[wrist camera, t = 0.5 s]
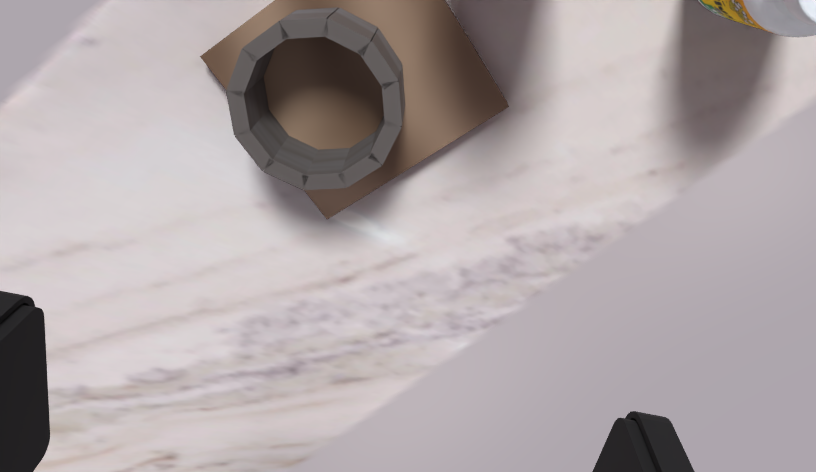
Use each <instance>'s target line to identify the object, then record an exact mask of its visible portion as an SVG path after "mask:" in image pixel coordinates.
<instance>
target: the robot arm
mask: <svg viewBox="0 0 816 472" xmlns="http://www.w3.org/2000/svg"><path fill="white" fill-rule="evenodd" d="M49 440H50V425H49V405H48V385H47V364H46V344H45V324H44V313H43V311H42V309H40V308H37V307H35V304H34V301H33V300H32V298H30V297H28V296H24V295H19V294H13V293H8V292H3V291H0V472H33V471H34V469H35V468H36V467H37V465H38V464H39V463H40V461H41V460H42V458H43V457H44V455H45V452H46V450H47V447H48V444H49ZM593 472H694V470H693V468H692V466H691V464H690V461H689V459H688V457H687V455H686V453H685V451H684V449H683V446H682V444H681V442H680V440H679V438H678V436H677V434H676V432H675V429H674V427H673V425H672V423H671V422H670V421H669V419H667V418H666V417H662V416H656V415H651V414H646V413H641V412H635V411H633V412H630V413H629V414H628V415H627V416H626V418H625V419H624V418H618V419H617V420H616V421H615V423H614V425H613V427H612V429H611V431H610V433H609V436H608V438H607V440H606V442H605V445H604V447H603V449H602V452H601V454H600V456H599V459H598V461H597V463H596V465H595V467H594V470H593Z"/></svg>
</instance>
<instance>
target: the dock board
mask: <svg viewBox="0 0 816 472" xmlns="http://www.w3.org/2000/svg"><path fill="white" fill-rule="evenodd" d="M200 57H201V58H202V59H203V61H204V62H205V63H206V65H207V66H208V67H209V68H210V70H211V71H212V72H213V74H214V75H215V76H216V77H217V79H218V80H219V81H220V83H221V84H222V85H223V86H224V88H225V89H226V90H227V91H226V93H227V99H228V104H229V110H230V115H231V120H232V126H233V131H234V135H236V136H235V137H236V139H237V140H238V141H239V142H240V144H241V145H242V146H243V147H244V149H245V150H246V151H247V152H248V154H249V155H250V156H251V157H252V159H253V160H254V161H255V162H256V164H257V165H258V166H259V167H260V169H261V170H262V171H263V170H264V172H265V173H267V174H269V175H271V176H274V177H276V178H278V179H280V180H282V181H284V182H287V183H289V184H291V185H293V186H295V187H297V188H300V189H302V190H303V189H304V191H305V192H306V193H307V194H308V196H309V197H310V198H311V200H312V201H313V202H314V203H315V205H316V206H317V207H318V209H319V210H320V211H321V212H322V214H323V215H324V216H325V218H326V219H329V218H330V217H332V216H333V215H335V214H337V213H338V212H340V211H341V210H343V209H345V208H346V207H348V206H350V205H351V204H353V203H354V202H356V201H358V200H359V199H361V198H362V197H364V196H366V195H367V194H369V193H370V192H372V191H374V190H375V189H377V188H379V187H380V186H382V185H383V184H385V183H387V182H388V181H390V180H391V179H393V178H395V177H396V176H398V175H399V174H401V173H403V172H404V171H406V170H408V169H409V168H411V167H412V166H414V165H416V164H417V163H419V162H420V161H422V160H424V159H425V158H427V157H428V156H430V155H432V154H433V153H435V152H437V151H438V150H440V149H441V148H443V147H445V146H446V145H448V144H449V143H451V142H453V141H454V140H456V139H458V138H459V137H461V136H462V135H464V134H466V133H467V132H469V131H470V130H472V129H474V128H475V127H477V126H478V125H480V124H482V123H483V122H485V121H487V120H488V119H490V118H491V117H493V116H495V115H496V114H498V113H499V112H501V111H503V110H504V109H506V108H507V107H509V106H508V103H507V101H506V100H505V98H504V96H503V95H502V93H501V91H500V90H499V88H498V86H497V85H496V83H495V81H494V80H493V78H492V77H491V75H490V73H489V72H488V70H487V68H486V67H485V65H484V63H483V62H482V60H481V58H480V57H479V55H478V54H477V52H476V50H475V49H474V47H473V45H472V44H471V42H470V40H469V39H468V37H467V35H466V34H465V32H464V30H463V29H462V27H461V26H460V24H459V22H458V21H457V19H456V17H455V16H454V14H453V12H452V11H451V9H450V7H449V6H448V4H447V3H446V1H445V0H275V1H273V2H272V3H271V4H269V5H268V6H267V7H265V8H264V9H263V10H261V11H260V12H259V13H257V14H256V15H255V16H253V17H252V18H251V19H249V20H248V21H247V22H245V23H244V24H243V25H241V26H240V27H239V28H237V29H236V30H235V31H233V32H232V33H231V34H230V35H228V36H227V37H226V38H224V39H223V40H222V41H220V42H219V43H218V44H216V45H215V46H214V47H212V48H211V49H210V50H208V51H207V52H206V53H204V54H203V55H202V56H200Z"/></svg>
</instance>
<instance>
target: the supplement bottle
mask: <svg viewBox="0 0 816 472" xmlns="http://www.w3.org/2000/svg"><path fill="white" fill-rule="evenodd" d="M698 1H699V2H700V3H701V4H702V5H703V6H704V7H705V8H707V9H708V10H709V11H711V12H713V13H714V14H716V15H719V16H721V17H724V18H727V19H730V20H733V21H736V22H739V23H742V24H746V25H749V26H752V27H755V28H758V29H762V30H765V31H768V32H771V33H774V34H778V35H782V36H788V37H807V36H813V35H816V0H698Z"/></svg>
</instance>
